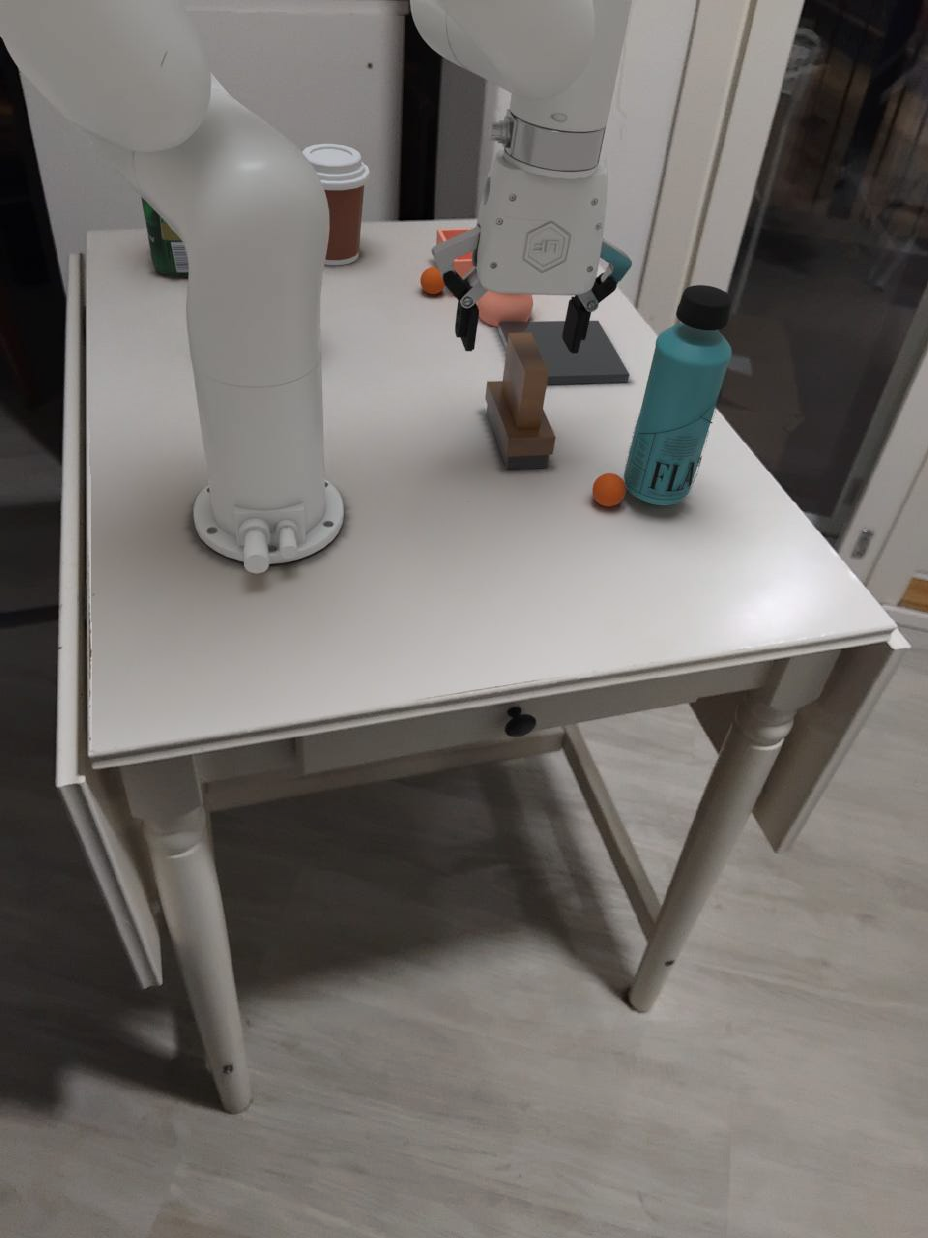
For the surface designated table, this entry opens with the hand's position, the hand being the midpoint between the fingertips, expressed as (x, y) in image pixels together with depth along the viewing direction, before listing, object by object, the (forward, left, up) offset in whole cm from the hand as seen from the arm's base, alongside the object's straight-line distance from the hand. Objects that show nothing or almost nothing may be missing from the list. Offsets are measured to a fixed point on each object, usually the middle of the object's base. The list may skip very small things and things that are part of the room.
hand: (518, 345), depth 85 cm
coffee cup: (+42, +13, -11) cm, 46 cm away
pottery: (+31, -5, -11) cm, 34 cm away
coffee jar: (+40, +31, -11) cm, 52 cm away
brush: (+1, -1, -11) cm, 11 cm away
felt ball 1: (+32, +2, -9) cm, 33 cm away
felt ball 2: (-10, -7, -9) cm, 15 cm away
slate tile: (+16, -10, -11) cm, 22 cm away
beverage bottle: (-10, -12, -11) cm, 19 cm away
